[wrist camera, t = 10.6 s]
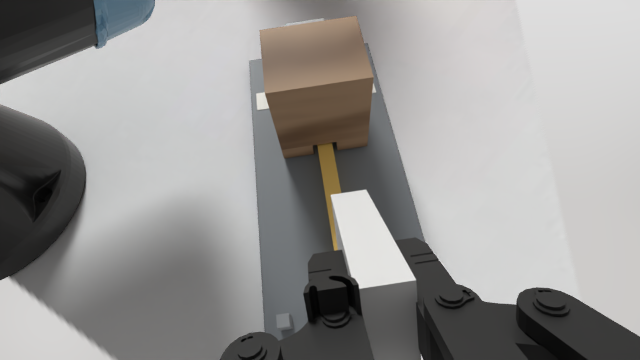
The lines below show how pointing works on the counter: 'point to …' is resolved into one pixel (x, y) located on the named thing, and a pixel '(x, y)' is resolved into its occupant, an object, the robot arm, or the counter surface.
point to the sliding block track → (317, 200)
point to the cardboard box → (317, 84)
